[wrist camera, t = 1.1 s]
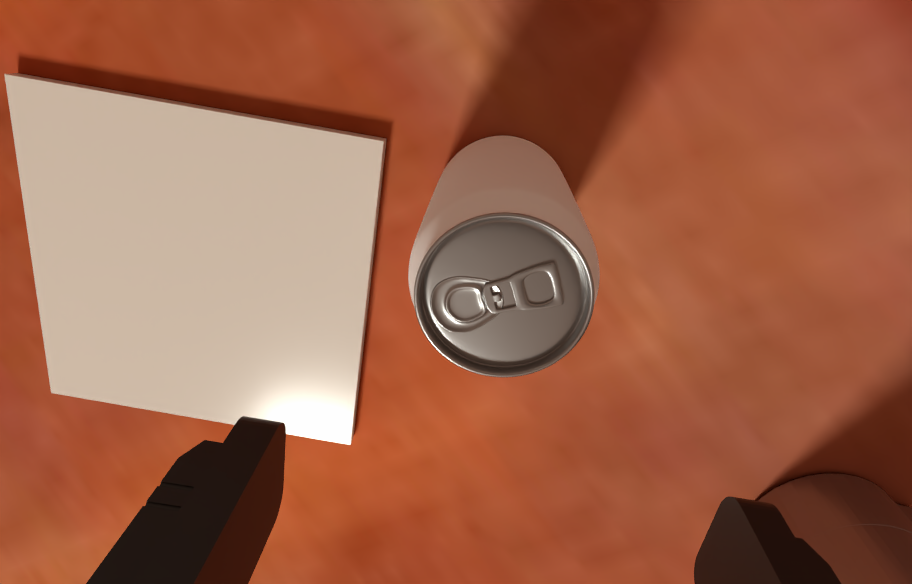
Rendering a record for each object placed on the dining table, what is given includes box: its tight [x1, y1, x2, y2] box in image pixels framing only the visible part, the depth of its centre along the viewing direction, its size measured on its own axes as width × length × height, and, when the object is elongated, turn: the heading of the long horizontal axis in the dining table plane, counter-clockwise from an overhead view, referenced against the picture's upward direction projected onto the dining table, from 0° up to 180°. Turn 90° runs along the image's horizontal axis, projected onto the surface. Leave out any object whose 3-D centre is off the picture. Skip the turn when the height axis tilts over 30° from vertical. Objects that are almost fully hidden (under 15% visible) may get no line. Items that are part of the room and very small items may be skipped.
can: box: [408, 136, 600, 377], centre depth 24 cm, size 6×6×12 cm
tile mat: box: [5, 73, 387, 445], centre depth 32 cm, size 18×18×1 cm
